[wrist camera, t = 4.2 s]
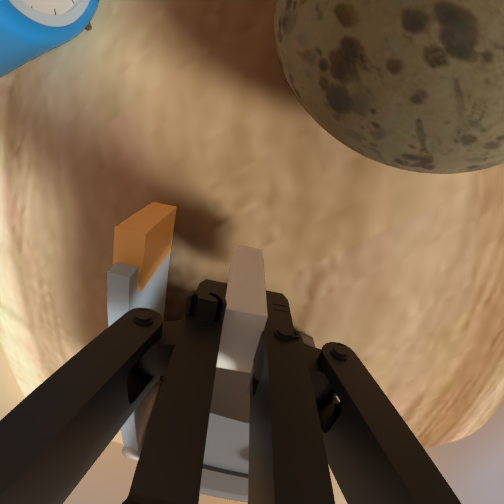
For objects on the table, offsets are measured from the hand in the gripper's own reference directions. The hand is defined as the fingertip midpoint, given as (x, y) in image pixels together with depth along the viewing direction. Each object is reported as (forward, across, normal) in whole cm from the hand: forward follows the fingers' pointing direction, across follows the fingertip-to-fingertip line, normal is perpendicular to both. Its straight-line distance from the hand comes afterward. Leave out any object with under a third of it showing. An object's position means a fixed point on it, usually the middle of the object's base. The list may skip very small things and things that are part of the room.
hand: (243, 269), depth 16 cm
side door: (+2, -5, -5) cm, 8 cm away
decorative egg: (+2, +4, +13) cm, 13 cm away
